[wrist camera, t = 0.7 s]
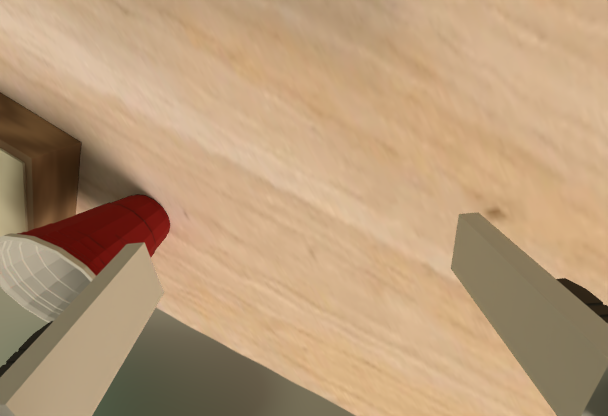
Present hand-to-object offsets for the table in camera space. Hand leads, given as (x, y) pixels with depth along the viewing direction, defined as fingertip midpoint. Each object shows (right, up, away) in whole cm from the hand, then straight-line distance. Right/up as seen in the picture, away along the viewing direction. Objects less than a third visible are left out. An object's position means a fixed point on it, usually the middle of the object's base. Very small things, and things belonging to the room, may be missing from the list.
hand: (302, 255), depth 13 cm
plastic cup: (-17, +1, +21) cm, 27 cm away
